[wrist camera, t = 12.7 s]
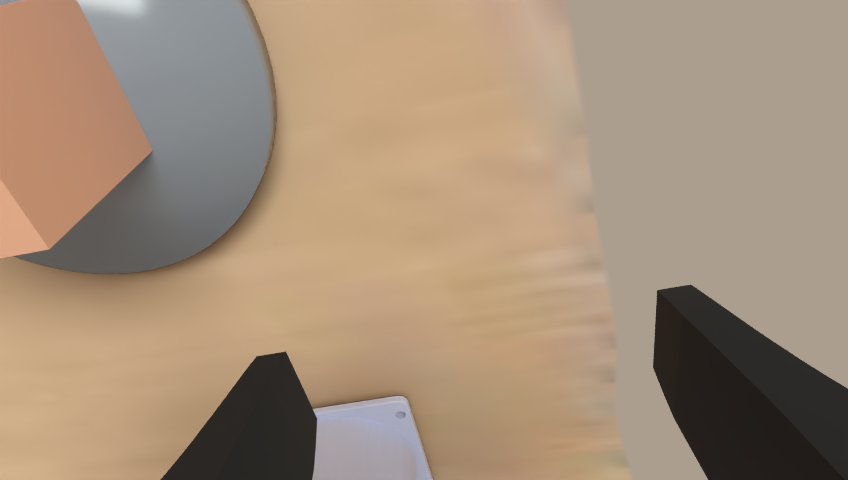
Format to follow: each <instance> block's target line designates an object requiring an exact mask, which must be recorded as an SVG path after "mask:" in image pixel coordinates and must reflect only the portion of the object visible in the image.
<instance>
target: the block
mask: <svg viewBox="0 0 848 480" xmlns="http://www.w3.org/2000/svg"><path fill="white" fill-rule="evenodd" d="M152 151H153V150H152V148H151V146H150V144H149V142H148V140H147V138H146V136H145V134H144V132H143V130H142V128H141V126H140V124H139V122H138V120H137V118H136V116H135V114H134V112H133V110H132V108H131V106H130V104H129V102H128V100H127V98H126V96H125V94H124V92H123V90H122V88H121V87H120V85H119V83H118V81H117V79H116V77H115V75H114V73H113V71H112V69H111V67H110V65H109V63H108V61H107V59H106V57H105V55H104V53H103V51H102V49H101V47H100V45H99V43H98V41H97V39H96V37H95V35H94V33H93V31H92V29H91V27H90V25H89V23H88V21H87V19H86V17H85V15H84V13H83V11H82V9H81V7H80V5H79V3H78V1H77V0H21V1H16V2H12V3H8V4H3V5H0V258H5V257H11V256H16V255H22V254H27V253H32V252H38V251H43V250H48V249H50V248H51V247H52V246H53V245H54V244H55V243H56V242H58V241H59V240H60V239H61V238H62V237H63V236H64V235H65V234H66V233H67V232H68V231H69V230H70V229H71V228H72V227H73V226H74V225H75V224H76V223H77V222H78V221H80V220H81V219H82V218H83V217H84V216H85V215H86V214H87V213H88V212H89V211H90V210H91V209H92V208H93V207H94V206H95V205H96V204H97V203H98V202H99V201H100V200H102V199H103V198H104V197H105V196H106V195H107V194H108V193H109V192H110V191H111V190H112V189H113V188H114V187H115V186H116V185H117V184H118V183H119V182H120V181H121V180H122V179H124V178H125V177H126V176H127V175H128V174H129V173H130V172H131V171H132V170H133V169H134V168H135V167H136V166H137V165H138V164H139V163H140V162H141V161H142V160H143V159H144V158H146V157H147V156H148V155H149V154H150V153H151V152H152Z"/></svg>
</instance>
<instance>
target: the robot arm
mask: <svg viewBox="0 0 848 480" xmlns="http://www.w3.org/2000/svg"><path fill="white" fill-rule="evenodd" d="M653 368H654V371H655V373H656V376H657V378H658V381H659V383H660V386H661V388H662V391H663V393H664V396H665V398H666V400H667V403H668V405H669V407H670V410H671V412H672V414H673V417H674V419H675V421H676V422H677V424H678V426H679V428H680V430H681V432H682V433H683V435H684V437H685V439H686V441H687V442H688V444H689V446H690V448H691V450H692V451H693V453H694V455H695V457H696V459H697V460H698V462H699V464H700V466H701V467H702V469H703V471H704V473H705V475H706V476H707V478H708V480H848V389H847V388H846V387H844V386H842V385H841V384H839V383H837V382H836V381H834V380H832V379H831V378H829V377H827V376H826V375H824V374H823V373H821V372H819V371H818V370H816V369H815V368H813V367H811V366H810V365H808V364H807V363H805V362H803V361H802V360H800V359H799V358H797V357H795V356H794V355H793V354H791V353H790V352H788V351H787V350H785V349H784V348H782V347H781V346H779V345H777V344H776V343H774V342H773V341H771V340H770V339H769V338H767V337H765V336H764V335H763V334H761V333H760V332H758V331H756V330H755V329H754V328H752V327H751V326H749V325H748V324H747V323H745V322H744V321H742V320H741V319H739V318H738V317H736V316H735V315H734V314H732V313H731V312H729V311H728V310H727V309H725V308H724V307H722V306H721V305H719V304H718V303H717V302H715V301H714V300H712V299H711V298H709V297H708V296H706V295H705V294H704V293H702V292H701V291H699V290H698V289H697V288H695V287H693V286H692V285H686V286H680V287H674V288H668V289H662V290H658V291H657V305H656V324H655V343H654V362H653ZM161 480H433V478H432V474H431V471H430V468H429V465H428V462H427V459H426V455H425V452H424V449H423V446H422V443H421V440H420V436H419V433H418V430H417V427H416V424H415V421H414V417H413V414H412V411H411V408H410V405H409V402H408V400H407V399H406V398H405V397H403V396H392V397H386V398H380V399H373V400H367V401H360V402H354V403H347V404H341V405H334V406H328V407H322V408H315V409H312V407H311V404H310V402H309V400H308V398H307V396H306V394H305V392H304V389H303V387H302V385H301V383H300V381H299V379H298V377H297V374H296V372H295V370H294V368H293V366H292V364H291V362H290V359H289V357H288V355H287V353H286V352H281V353H275V354H269V355H263V356H257V357H256V358H255V359H254V361H253V362H252V363H251V364H250V366H249V367H248V368H247V370H246V371H245V372H244V373H243V375H242V376H241V377H240V379H239V380H238V382H237V383H236V384H235V386H234V387H233V388H232V390H231V391H230V392H229V394H228V395H227V396H226V398H225V399H224V400H223V402H222V403H221V404H220V406H219V407H218V408H217V410H216V411H215V412H214V414H213V415H212V416H211V418H210V419H209V420H208V421H207V423H206V424H205V425H204V427H203V428H202V429H201V431H200V432H199V433H198V434H197V436H196V437H195V438H194V440H193V441H192V442H191V444H190V445H189V446H188V447H187V449H186V450H185V451H184V452H183V454H182V455H181V456H180V457H179V458H178V460H177V461H176V462H175V463H174V464H173V466H172V467H171V468H170V469H169V470H168V472H167V473H166V474H165V475H164V476H163V478H162V479H161Z"/></svg>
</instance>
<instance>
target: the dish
mask: <svg viewBox="0 0 848 480" xmlns="http://www.w3.org/2000/svg"><path fill="white" fill-rule="evenodd" d="M16 1H21V0H0V5H3V4H8V3H12V2H16ZM77 1H78V3H79V5H80V7H81V9H82V11H83V13H84V15H85V17H86V19H87V21H88V23H89V25H90V27H91V29H92V31H93V33H94V35H95V37H96V39H97V41H98V43H99V45H100V47H101V49H102V51H103V53H104V55H105V57H106V59H107V61H108V63H109V65H110V67H111V69H112V71H113V73H114V75H115V77H116V79H117V81H118V83H119V85H120V87H121V88H122V90H123V92H124V94H125V96H126V98H127V100H128V102H129V104H130V106H131V108H132V110H133V112H134V114H135V116H136V118H137V120H138V122H139V124H140V126H141V128H142V130H143V132H144V134H145V136H146V138H147V140H148V142H149V144H150V146H151V148H152V150H153V151H152V152H151V153H150V154H149V155H148V156H147V157H146V158H144V159H143V160H142V161H141V162H140V163H139V164H138V165H137V166H136V167H135V168H134V169H133V170H132V171H131V172H130V173H129V174H128V175H127V176H126V177H125V178H124V179H122V180H121V181H120V182H119V183H118V184H117V185H116V186H115V187H114V188H113V189H112V190H111V191H110V192H109V193H108V194H107V195H106V196H105V197H104V198H103V199H102V200H100V201H99V202H98V203H97V204H96V205H95V206H94V207H93V208H92V209H91V210H90V211H89V212H88V213H87V214H86V215H85V216H84V217H83V218H82V219H81V220H80V221H78V222H77V223H76V224H75V225H74V226H73V227H72V228H71V229H70V230H69V231H68V232H67V233H66V234H65V235H64V236H63V237H62V238H61V239H60V240H59V241H58V242H56V243H55V244H54V245H53V246H52V247H51V248H50V249H48V250H43V251H38V252H32V253H27V254H22V255H16V256H14V257H17V258H19V259H22V260H26V261H29V262H33V263H36V264H40V265H44V266H47V267H52V268H57V269H63V270H68V271H73V272H83V273H95V274H125V273H133V272H142V271H148V270H152V269H156V268H160V267H165V266H169V265H171V264H174V263H176V262H179V261H181V260H184V259H187V258H189V257H191V256H193V255H194V254H196V253H198V252H200V251H202V250H203V249H205V248H207V247H208V246H210V245H211V244H212V243H213V242H215V241H216V240H217V239H219V238H220V237H221V236H222V235H224V234H225V233H226V232H227V231H228V229H229V228H230V227H231V226H232V225H233V224H234V223H235V222H236V221H237V220H238V219H239V217H240V216H241V214H242V213H243V211H244V210H245V208H246V207H247V205H248V204H249V202H250V201H251V199H252V197H253V195H254V193H255V191H256V190H257V188H258V186H259V184H260V181H261V179H262V177H263V175H264V173H265V170H266V168H267V166H268V162H269V159H270V155H271V152H272V148H273V145H274V137H275V129H276V121H277V120H276V91H275V84H274V78H273V71H272V66H271V62H270V59H269V55H268V51H267V48H266V44H265V41H264V38H263V35H262V33H261V30H260V28H259V25H258V23H257V21H256V18H255V16H254V13H253V11H252V8H251V7H250V5H249V3H248V1H247V0H77Z"/></svg>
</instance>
